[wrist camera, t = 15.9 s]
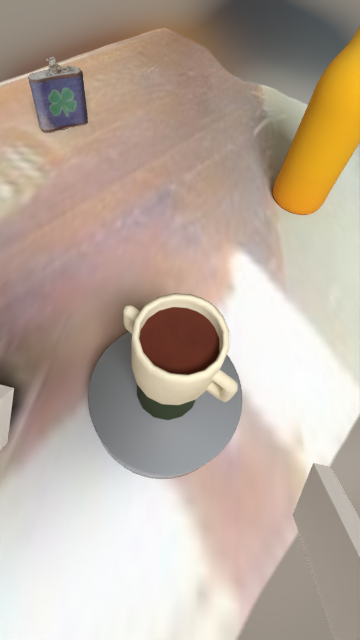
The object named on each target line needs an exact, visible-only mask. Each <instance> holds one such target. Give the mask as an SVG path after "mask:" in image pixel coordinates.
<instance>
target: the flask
mask: <svg viewBox="0 0 360 640" xmlns="http://www.w3.org/2000/svg"><path fill="white" fill-rule="evenodd" d="M49 59H51V60H49V65H50V66H49V67H48V68H49V70H44V71H40V72H36V73H32V74H30V75H29V77H28V79H29V83H30V87H31V90H32V95H33V99H34V103H35V107H36V111H37V116H38V120H39V124H40V128H41V130H42V131H43V132H44V133H45V132H55V131H57V130H65V129H68V128H69V127H75V126H80V125H86V124H87V123H88V122H87V109H86V100H85V91H84V82H83V73H82V71H81V70H80V69H79V68H78V67H75V66H74V67H71V66H70V65H68V67H61V66H60V65H58V64H56V61H55V60H56V59H54V57H50V58H49ZM52 59H53V60H52ZM47 61H48V59H47Z"/></svg>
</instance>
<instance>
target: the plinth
mask: <svg viewBox="0 0 360 640" xmlns="http://www.w3.org/2000/svg"><path fill="white" fill-rule="evenodd" d="M131 340H132V333H130V332H128V333H126V334H124V335H122V336H121V337H119V338H118V339H117V340H116V341H114V342H113V343H112V344H111V345H110V346H109V347H108V348H107V349H106V350H105V351H104V353H103V354H102V356H101V357H100V359H99V360H98V362H97V364H96V366H95V368H94V371H93V373H92V376H91V380H90V385H89V394H88V401H89V410H90V415H91V419H92V422H93V425H94V427H95V430H96V432H97V434H98V436H99V438H100V440H101V442H102V444H103V446H104V447H105V449H106V450H107V451H108V453H109V454H110V455H111V456H112V457H113V458H114V459H115V460H116V461H117V462H118V463H119V464H121V465H122V466H123V467H124V468H126V469H128V470H130V471H132V472H133V473H136V474H139V475H141V476H145V477H149V478H156V479H169V478H176V477H181V476H184V475H186V474H189V473H191V472H193V471H195V470H197V469H199V468H200V467H202V466H203V465H205V464H206V463H208V462H209V461H210V460H212V459H213V458H214V457H216V456H217V455H218V454H219V453H220V452H221V451H222V450H223V449H224V448H225V447H226V445H227V444H228V443H229V441H230V440H231V438H232V436H233V434H234V433H235V431H236V428H237V426H238V423H239V420H240V415H241V410H242V390H241V384H240V380H239V377H238V374H237V372H236V369H235V367H234V365H233V363H232V362H231V360H230V358H229V357H228V355H226V357H225V359H224V362H223V364H222V366H221V368H220V370H221V371H222V372H224V373H225V374H226V375H228V376H229V377H231V378H232V379H233V380H234V381H235V382H236V383H237V384H238V389H237V392H236V393H235V395H234V396H233V397H232V398H231V399H230V400H229V401H227V402H223V401H221V400H219V399H217V398H216V397H215V396H213V395H212V394H211V393H209V392H208V391H207V390H206V391H205V392H204V393H203V394H202V395H200V396H199V397H198V398H197V399H196V400H195V403H194V405H193V407H192V409H190V410H189V411H188V412H187V413H186V414H184V415H183V416H182V417H179V418H175V419H171V420H164V419H159V418H155V417H153V416H151V415H150V414H149V413H148V412H146V411H145V410H144V409H143V408H142V406H141V404H140V401H139V399H138V397H137V383H136V379H135V376H134V373H133V369H132V348H131Z"/></svg>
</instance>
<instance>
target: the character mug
mask: <svg viewBox="0 0 360 640" xmlns="http://www.w3.org/2000/svg"><path fill="white" fill-rule="evenodd" d="M123 323H124V326H125V328H126V329H127V330H128V331H129V332H130V333H132V340H131V348H132V369H133V373H134V376H135V379H136V383H137V397H138V399H139V401H140V404H141V406H142V408H143V409H144V410H145V411H146V412H148V413H149V414H150V415H151V416H153V417H155V418H159V419H164V420H171V419H175V418H179V417H182V416H183V415H184V414H186V413H187V412H188V411H189V410H190V409H192V407H193V405H194V403H195V400H196V399H197V398H198V397H199V396H200V395H202V394H203V393H204V392H205V391H206V390H207V391H208V392H209V393H211V394H212V395H213V396H215V397H216V398H217V399H219V400H221V401H223V402H227V401H229V400H230V399H231V398H232V397H233V396H234V395H235V393H236V392H237V389H238V384H237V383H236V382H235V381H234V380H233V379H232V378H231V377H229V376H228V375H226V374H225V373H224V372H222V371H221V370H220V368H221V366H222V364H223V362H224V359H225V357H226V355H227V353H228V350H229V330H228V327H227V324H226V322H225V319H224V317H223V315H222V314H221V313H220V312H219V311H218V309H217V308H216V307H215V306H214V305H212V304H211V303H210V302H208V301H207V300H205V299H203V298H200V297H197V296H195V295H192V294H179V293H174V294H169V295H165V296H161V297H158V298H156V299H154V300H153V301H151V302H150V303H148V304H146V305H145V306H144V307H143V308H142V310H141V311H139V310H138V309H136V308H135V307H133V306H131V305H128V306H125V308H124V311H123Z"/></svg>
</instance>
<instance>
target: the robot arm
mask: <svg viewBox="0 0 360 640" xmlns="http://www.w3.org/2000/svg"><path fill="white" fill-rule="evenodd" d="M13 393H14V388H12V387H8V386H4V385H0V450H1V449H2V448H3V447H4V446H5V445H6V444H7V442H8V434H9V426H10V417H11V409H12V401H13ZM293 517H294V520H295V523H296V526H297V529H298V532H299V535H300V538H301V541H302V544H303V547H304V550H305V554H306V557H307V560H308V563H309V566H310V569H311V572H312V575H313V578H314V581H315V584H316V587H317V590H318V593H319V597H320V600H321V603H322V606H323V609H324V612H325V615H326V618H327V621H328V624H329V627H330V630H331V634H332V636H333V640H360V519H359V517H358V515H357V513H356V511H355V510H354V508H353V506H352V504H351V502H350V501H349V499H348V497H347V495H346V493H345V492H344V490H343V488H342V486H341V485H340V483H339V481H338V479H337V477H336V476H335V474H334V472H333V470H332V468H331V467H327V466H323V465H319V464H315V463H313V465H312V468H311V470H310V473H309V475H308V478H307V480H306V483H305V486H304V488H303V491H302V493H301V496H300V498H299V501H298V503H297V506H296V508H295V511H294V513H293Z"/></svg>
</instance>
